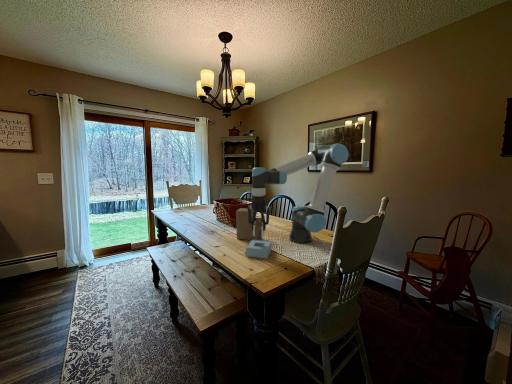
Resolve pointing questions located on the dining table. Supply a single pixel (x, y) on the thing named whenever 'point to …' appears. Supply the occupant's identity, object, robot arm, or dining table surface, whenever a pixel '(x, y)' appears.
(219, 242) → the dining table surface
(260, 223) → the walnut peg
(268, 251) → the socket block
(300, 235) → the robot arm
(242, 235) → the wooden block
